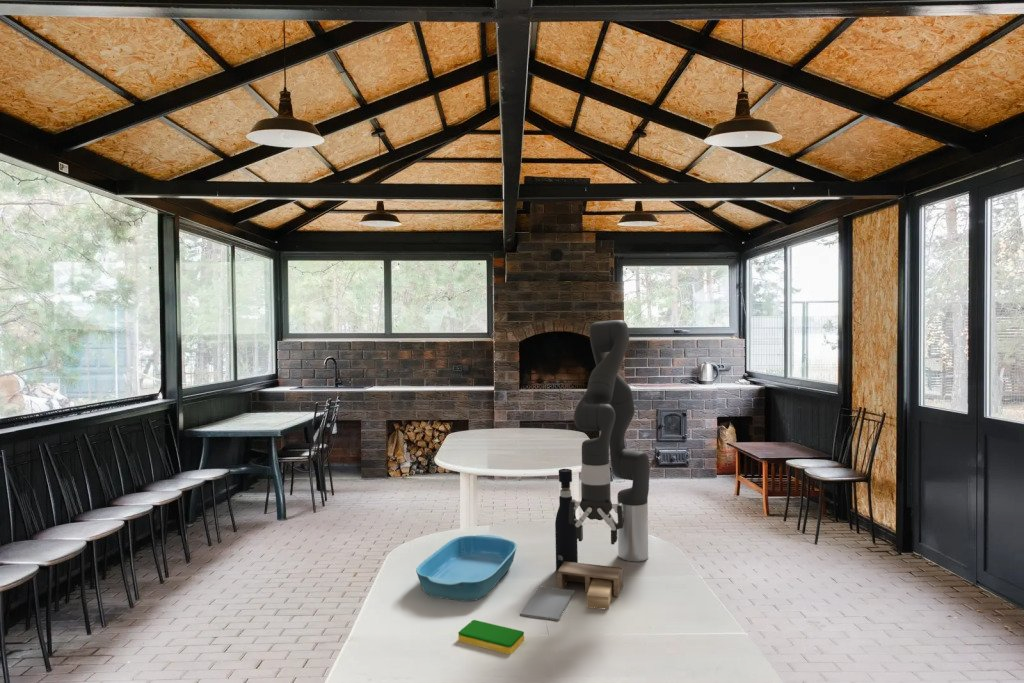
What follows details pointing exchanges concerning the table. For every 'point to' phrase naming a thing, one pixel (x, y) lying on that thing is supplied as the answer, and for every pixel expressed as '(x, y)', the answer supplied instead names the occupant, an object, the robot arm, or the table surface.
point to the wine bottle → (565, 524)
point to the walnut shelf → (589, 575)
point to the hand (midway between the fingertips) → (596, 541)
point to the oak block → (600, 593)
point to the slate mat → (547, 603)
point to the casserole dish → (466, 567)
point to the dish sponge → (491, 636)
